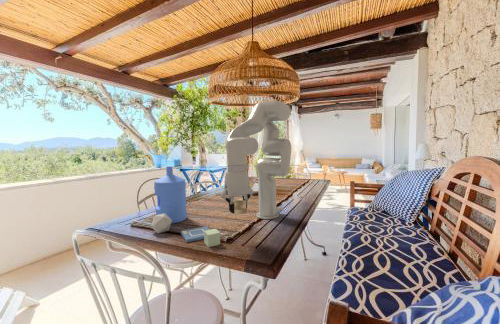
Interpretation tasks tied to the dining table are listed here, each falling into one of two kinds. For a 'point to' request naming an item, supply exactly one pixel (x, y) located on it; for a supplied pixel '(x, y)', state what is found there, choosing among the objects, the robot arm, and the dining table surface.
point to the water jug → (171, 196)
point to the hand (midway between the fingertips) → (238, 210)
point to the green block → (212, 237)
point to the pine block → (239, 206)
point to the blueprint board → (194, 234)
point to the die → (161, 223)
